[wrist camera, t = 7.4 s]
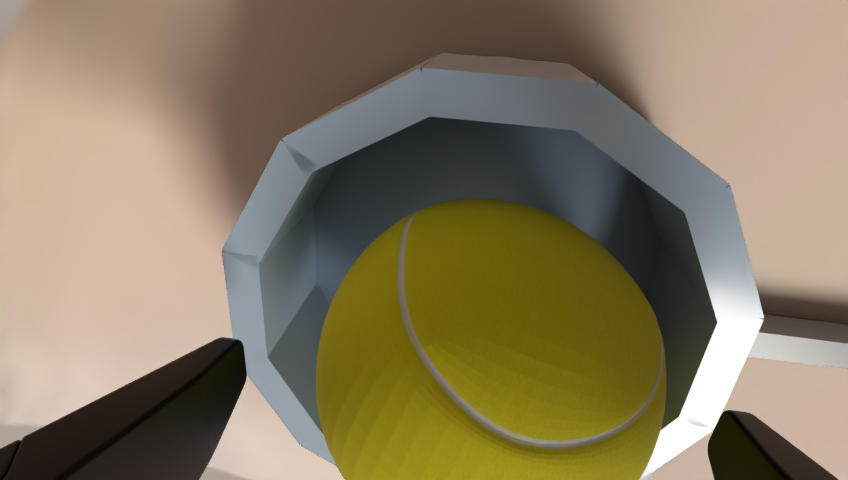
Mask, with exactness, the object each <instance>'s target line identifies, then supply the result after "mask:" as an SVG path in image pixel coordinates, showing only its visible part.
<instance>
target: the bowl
mask: <svg viewBox="0 0 848 480" xmlns="http://www.w3.org/2000/svg"><path fill="white" fill-rule="evenodd" d="M461 199H495V200H502V201H509V202H514V203H519V204H523V205H527V206H531V207H534V208H537V209H540V210H543V211H546V212H548V213H550V214H553V215H555V216H557V217H560V218H561V219H563V220H565V221H567V222H569V223H571V224H573V225H574V226H576V227H577V228H579V229H580V230H582V231H583V232H585V233H587V234H588V235H590V236H591V237H592V238H594V239H595V240H596V241H597V242H599V243H600V244H601V245H602V246H603V247H604V248H605V249H606V250H607V251H608V252H609V253H610V254H611V255H612V256H613V257H615V258H616V259H617V260H618V262H619V263H620V264H621V265H622V266H623V267H624V268H625V270H626V271H627V272H628V273H629V275H630V276H631V277H632V279H633V280H634V281H635V283H636V284H637V285H638V286H639V288H640V289H641V291H642V292H643V294H644V295H645V297H646V298H647V300H648V302H649V304H650V306H651V307H652V309H653V311H654V313H655V316H656V319H657V322H658V325H659V328H660V331H661V334H662V338H663V344H664V350H665V359H666V401H665V411H664V416H663V421H662V426H661V430H660V434H659V437H658V440H657V443H656V446H655V448H654V451H653V454H652V456H651V459H650V461H649V463H648V465H647V467H646V469H645V471H644V472H643V474H642V476H641V477H640V479H639V480H641V479H643V478H644V477H645V476H647V475H648V474H650V473H651V472H653V471H654V470H656V469H657V468H659V467H660V466H662V465H663V464H664V463H666V462H667V461H669V460H670V459H672V458H673V457H675V456H676V455H678V454H679V453H680V452H682V451H683V450H685V449H686V448H688V447H689V446H691V445H692V444H694V443H695V442H697V441H698V440H699V439H701V438H702V437H704V436H705V435H707V434H708V433H710V432H711V431H713V429H714V428H715V426H716V424H717V422H718V420H719V417H720V415H721V413H722V411H723V409H724V406H725V404H726V402H727V400H728V398H729V395H730V393H731V391H732V389H733V387H734V384H735V382H736V380H737V378H738V376H739V373H740V371H741V369H742V367H743V365H744V362H745V360H746V358H747V356H748V354H749V352H750V349H751V347H752V345H753V343H754V341H755V338H756V336H757V334H758V332H759V330H760V327H761V325H762V323H763V321H764V319H763V318H764V315H763V311H762V307H761V303H760V299H759V295H758V291H757V287H756V283H755V280H754V276H753V272H752V268H751V264H750V260H749V256H748V252H747V248H746V244H745V240H744V236H743V232H742V229H741V225H740V221H739V217H738V213H737V209H736V205H735V201H734V197H733V193H732V189H731V186H730V185H729V184H728V183H727V182H726V181H725V180H723V179H722V178H721V177H719V176H718V175H717V174H716V173H714V172H713V171H712V170H710V169H709V168H708V167H707V166H705V165H704V164H703V163H701V162H700V161H699V160H697V159H696V158H695V157H694V156H692V155H691V154H690V153H688V152H687V151H686V150H685V149H683V148H682V147H681V146H679V145H678V144H677V143H676V142H674V141H673V140H672V139H670V138H669V137H668V136H666V135H665V134H664V133H663V132H661V131H660V130H659V129H657V128H656V127H655V126H654V125H652V124H651V123H650V122H648V121H647V120H646V119H645V118H643V117H642V116H641V115H639V114H638V113H637V112H635V111H634V110H633V109H632V108H630V107H629V106H628V105H626V104H625V103H624V102H623V101H621V100H620V99H619V98H617V97H616V96H615V95H614V94H612V93H611V92H610V91H608V90H607V89H606V88H604V87H603V86H602V85H601V84H599V83H598V82H596V81H595V80H593V79H592V78H590V77H588V76H587V75H585V74H584V73H582V72H581V71H579V70H578V69H576V68H575V67H573V66H572V65H570V64H568V63H558V62H546V61H534V60H524V59H518V58H511V57H505V56H474V55H462V54H450V53H441V54H440V53H439V54H437V55H436V56H434V57H432V58H430V59H428V60H426V61H424V62H422V63H420V64H418V65H416V66H414V67H412V68H410V69H408V70H406V71H404V72H402V73H400V74H399V75H397V76H395V77H392V78H390V79H388V80H387V81H385V82H383V83H381V84H379V85H377V86H375V87H373V88H371V89H369V90H367V91H365V92H363V93H362V94H360V95H358V96H356V97H354V98H352V99H350V100H348V101H346V102H344V103H342V104H340V105H338V106H336V107H335V108H333V109H331V110H329V111H328V112H326V113H324V114H323V115H321V116H319V117H317V118H316V119H314V120H312V121H311V122H309V123H307V124H306V125H304V126H302V127H300V128H299V129H297V130H295V131H294V132H292V133H290V134H288V135H287V136H285V137H283V138H282V139H281V140H280V141H279V143H278V145H277V147H276V149H275V151H274V153H273V155H272V156H271V158H270V160H269V162H268V164H267V166H266V168H265V170H264V172H263V173H262V175H261V177H260V179H259V181H258V183H257V185H256V187H255V189H254V190H253V192H252V194H251V196H250V198H249V200H248V202H247V204H246V206H245V207H244V209H243V211H242V213H241V215H240V217H239V219H238V221H237V223H236V224H235V226H234V228H233V230H232V232H231V234H230V236H229V238H228V240H227V241H226V243H225V245H224V247H223V249H222V250H223V251H222V257H223V265H224V272H225V280H226V288H227V295H228V303H229V311H230V318H231V326H232V334H233V339H238V340H240V341H241V342H242V343H243V346H244V353H245V362H246V370H247V375H248V377H249V378H250V379H251V381H252V382H253V383H254V385H255V386H256V387H257V389H258V390H259V391H260V393H261V394H262V395H263V397H264V398H265V399H266V401H267V402H268V403H269V405H270V406H271V407H272V409H273V410H274V411H275V413H276V414H277V415H278V417H279V418H280V419H281V421H282V422H283V423H284V425H285V426H286V427H287V429H288V430H289V431H290V433H291V434H292V435H293V437H294V438H295V439H296V441H297V442H298V443H299V445H300V444H301V446H302V447H304V448H306V449H308V450H309V451H311V452H313V453H315V454H316V455H318V456H320V457H322V458H323V459H325V460H327V461H329V462H330V463H332V464H334V465H336V464H335V462H334V460H333V458H332V456H331V453H330V451H329V449H328V447H327V444H326V441H325V437H324V434H323V431H322V428H321V423H320V418H319V413H318V406H317V396H316V363H317V354H318V347H319V342H320V337H321V333H322V328H323V325H324V322H325V319H326V316H327V313H328V310H329V307H330V305H331V303H332V300H333V298H334V296H335V294H336V292H337V290H338V288H339V286H340V284H341V282H342V281H343V279H344V278H345V276H346V274H347V273H348V271H349V270H350V268H351V267H352V265H353V264H354V263H355V261H356V260H357V259H358V258H359V256H360V255H361V254H362V253H363V252H364V251H365V249H366V248H367V247H368V246H369V245H370V244H371V243H372V242H373V241H374V240H375V239H376V238H378V237H379V236H380V235H381V234H382V233H384V232H385V231H386V230H387V229H388V228H390V227H391V226H392V225H394V224H395V223H396V222H398V221H399V220H401V219H402V218H404V217H405V216H407V215H409V214H411V213H413V212H415V211H417V210H420V209H423V208H425V207H428V206H430V205H433V204H437V203H442V202H447V201H453V200H461Z"/></svg>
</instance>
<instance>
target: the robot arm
mask: <svg viewBox="0 0 848 480" xmlns="http://www.w3.org/2000/svg"><path fill="white" fill-rule="evenodd" d="M246 377H247V370H246V362H245V353H244V346H243V343H242V342H241V341H240V340H238V339H232V338H225V337H221V338H218V339H216V340H214V341H212V342H210V343H208V344H206V345H204V346H202V347H200V348H198V349H196V350H194V351H192V352H190V353H188V354H186V355H184V356H182V357H180V358H178V359H176V360H174V361H172V362H170V363H168V364H166V365H165V366H163V367H161V368H159V369H157V370H155V371H153V372H151V373H149V374H147V375H145V376H143V377H141V378H139V379H137V380H135V381H133V382H131V383H129V384H127V385H125V386H123V387H121V388H119V389H117V390H115V391H113V392H111V393H109V394H107V395H105V396H103V397H101V398H100V399H98V400H96V401H94V402H92V403H90V404H88V405H86V406H84V407H82V408H80V409H78V410H76V411H74V412H72V413H70V414H68V415H66V416H64V417H62V418H60V419H58V420H56V421H54V422H52V423H50V424H48V425H46V426H44V427H42V428H40V429H38V430H36V431H34V432H32V433H31V434H29V435H27V436H25V437H23V439H22V441H20V440H17V441H14V442H13V443H11V444H9V445H7V446H5V447H3V448H1V449H0V480H199V479H200V477H201V475H202V474H203V472H204V470H205V468H206V467H207V465H208V463H209V461H210V459H211V458H212V456H213V454H214V451H215V449H216V447H217V445H218V443H219V441H220V439H221V436H222V434H223V432H224V430H225V427H226V425H227V423H228V421H229V418H230V416H231V414H232V412H233V409H234V407H235V405H236V403H237V400H238V398H239V396H240V394H241V391H242V389H243V387H244V385H245V381H246ZM708 456H709V460H710V464H711V468H712V472H713V476H714V479H715V480H838V479H837V478H836V477H834V476H833V475H832V474H830V473H829V472H828V471H827V470H825V469H824V468H823V467H821V466H820V465H819V464H817V463H816V462H815V461H813V460H812V459H811V458H809V457H808V456H807V455H805V454H804V453H803V452H802V451H800V450H799V449H798V448H796V447H795V446H794V445H792V444H791V443H790V442H788V441H787V440H786V439H784V438H783V437H782V436H780V435H779V434H778V433H777V432H775V431H774V430H773V429H771V428H770V427H769V426H767V425H766V424H765V423H763V422H762V421H761V420H759V419H758V418H757V417H755V416H754V415H753V414H750V413H747V412H740V411H733V410H726V411H724V412H723V413H722V414H721V416H720V418H719V420H718V422H717V425H716V427H715V429H714V431H713V433H712V436H711V438H710V440H709V443H708Z"/></svg>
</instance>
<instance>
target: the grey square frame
mask: <svg viewBox="0 0 848 480" xmlns="http://www.w3.org/2000/svg"><path fill="white" fill-rule="evenodd" d="M763 315H764V318H763V319H764V321H763V323H762V325H761V327H760V330H759V332H758V334H757V336H756V338H755V341H754V343H753V345H752V347H751V349H750V352H749V354H748V356H750V357H758V358H765V359H773V360H780V361H788V362H795V363H803V364H810V365H818V366H826V367H833V368H841V369H848V325H847V324H839V323H831V322H823V321H815V320H807V319H799V318H791V317H783V316H775V315H767V314H763ZM653 472H654V471H653ZM653 472H651V473H650V474H648V475H647V476H645V477H644V478H643V479H641V480H651V477H652V475H653Z"/></svg>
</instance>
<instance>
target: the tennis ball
mask: <svg viewBox="0 0 848 480" xmlns="http://www.w3.org/2000/svg"><path fill="white" fill-rule="evenodd" d="M316 396H317V406H318V413H319V418H320V423H321V428H322V431H323V434H324V437H325V441H326V444H327V447H328V449H329V451H330V453H331V456H332V458H333V460H334V462H335V464H336V466H337V468H338V469H339V471H340V473H341V474H342V476H343V477H344V479H345V480H639V479H640V477H641V476H642V474H643V472H644V471H645V469H646V467H647V465H648V463H649V461H650V459H651V456H652V454H653V451H654V448H655V446H656V443H657V440H658V437H659V434H660V430H661V426H662V421H663V416H664V411H665V401H666V359H665V350H664V344H663V338H662V334H661V331H660V328H659V325H658V322H657V319H656V316H655V313H654V311H653V309H652V307H651V306H650V304H649V302H648V300H647V298H646V297H645V295H644V294H643V292H642V291H641V289H640V288H639V286H638V285H637V284H636V283H635V281H634V280H633V279H632V277H631V276H630V275H629V273H628V272H627V271H626V270H625V268H624V267H623V266H622V265H621V264H620V263H619V262H618V260H617V259H616V258H615V257H613V256H612V255H611V254H610V253H609V252H608V251H607V250H606V249H605V248H604V247H603V246H602V245H601V244H600V243H599V242H597V241H596V240H595V239H594V238H592V237H591V236H590V235H588V234H587V233H585V232H583V231H582V230H580V229H579V228H577V227H576V226H574V225H573V224H571V223H569V222H567V221H565V220H563V219H561V218H560V217H557V216H555V215H553V214H550V213H548V212H546V211H543V210H540V209H537V208H534V207H531V206H527V205H523V204H519V203H514V202H509V201H502V200H495V199H461V200H453V201H447V202H442V203H437V204H433V205H430V206H428V207H425V208H423V209H420V210H417V211H415V212H413V213H411V214H409V215H407V216H405V217H404V218H402V219H401V220H399V221H398V222H396V223H395V224H394V225H392V226H391V227H390V228H388V229H387V230H386V231H385V232H384V233H382V234H381V235H380V236H379V237H378V238H376V239H375V240H374V241H373V242H372V243H371V244H370V245H369V246H368V247H367V248H366V249H365V251H364V252H363V253H362V254H361V255H360V256H359V258H358V259H357V260H356V261H355V263H354V264H353V265H352V267H351V268H350V270H349V271H348V273H347V274H346V276H345V278H344V279H343V281H342V282H341V284H340V286H339V288H338V290H337V292H336V294H335V296H334V298H333V300H332V303H331V305H330V307H329V310H328V313H327V316H326V319H325V322H324V325H323V328H322V333H321V337H320V342H319V347H318V354H317V363H316Z"/></svg>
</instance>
